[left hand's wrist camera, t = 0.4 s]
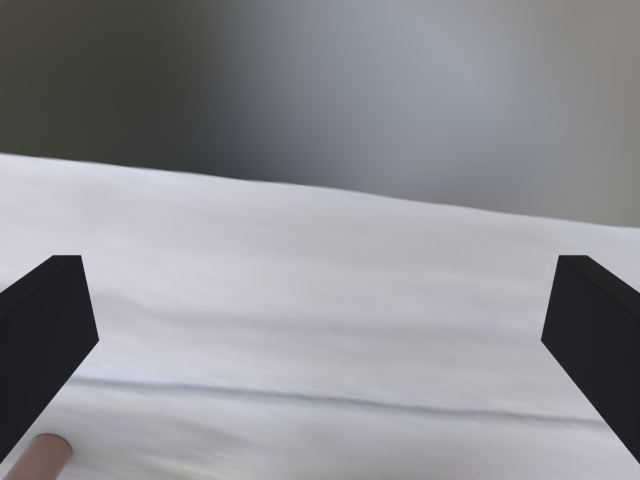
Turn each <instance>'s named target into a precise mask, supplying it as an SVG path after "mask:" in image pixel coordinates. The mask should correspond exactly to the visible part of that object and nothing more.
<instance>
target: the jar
mask: <svg viewBox="0 0 640 480" xmlns="http://www.w3.org/2000/svg"><path fill="white" fill-rule="evenodd" d="M71 456H72V450H71V447H70V445H69V444H68V443H67V442H66V441H65V440H64V439H62V438H60V437H58V436H55V435H51V434H43V435H39V436H37V437H35V438H34V439H33V440H32V441H31V443H30V444H29V445H28V446H27V448H26V449H25V450H24V452H23V453H22V454H21V456H20V457H19V458H18V459H17V461H16V462H15V463H14V465H13V466H12V467H11V469H10V470H9V471H8V473H7V474H6V475H5V476H4V478H3V479H2V480H57V479H58V477H59V476H60V474H61V473H62V471H63V469H64V468H65V466H66V465H67V463H68V462H69V460H70V458H71Z"/></svg>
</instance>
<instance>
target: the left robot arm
mask: <svg viewBox="0 0 640 480" xmlns="http://www.w3.org/2000/svg"><path fill="white" fill-rule="evenodd" d="M98 341H99V337H98V333H97V328H96V323H95V319H94V314H93V309H92V304H91V300H90V295H89V290H88V286H87V281H86V276H85V272H84V267H83V262H82V258H81V255H53V256H51V257H50V258H49V259H47V260H46V261H44V262H43V263H42V264H40V265H39V266H37V267H36V268H35V269H33V270H32V271H30V272H29V273H28V274H26V275H25V276H23V277H22V278H21V279H19V280H18V281H16V282H15V283H14V284H12V285H11V286H9V287H8V288H7V289H5V290H4V291H2V292H1V293H0V464H1V462H2V461H3V460H4V459H5V457H6V456H7V455H8V454H9V452H10V451H11V450H12V449H13V448H14V446H15V445H16V444H17V443H18V441H19V440H20V439H21V438H22V436H23V435H24V434H25V433H26V431H27V430H28V429H29V428H30V426H31V425H32V424H33V423H34V421H35V420H36V419H37V418H38V416H39V415H40V414H41V413H42V411H43V410H44V409H45V408H46V406H47V405H48V404H49V403H50V401H51V400H52V399H53V398H54V396H55V395H56V394H57V393H58V391H59V390H60V389H61V388H62V386H63V385H64V384H65V383H66V381H67V380H68V379H69V378H70V376H71V375H72V374H73V373H74V371H75V370H76V369H77V368H78V366H79V365H80V364H81V363H82V361H83V360H84V359H85V358H86V356H87V355H88V354H89V353H90V351H91V350H92V349H93V348H94V346H95V345H96V344H97V343H98ZM541 341H542V343H543V344H544V345H545V346H546V348H547V349H548V350H549V351H550V353H551V354H552V355H553V356H554V358H555V359H556V360H557V361H558V363H559V364H560V365H561V366H562V368H563V369H564V370H565V371H566V373H567V374H568V375H569V376H570V378H571V379H572V380H573V381H574V383H575V384H576V385H577V386H578V388H579V389H580V390H581V391H582V393H583V394H584V395H585V396H586V398H587V399H588V400H589V401H590V403H591V404H592V405H593V406H594V408H595V409H596V410H597V411H598V413H599V414H600V415H601V416H602V418H603V419H604V420H605V421H606V423H607V424H608V425H609V426H610V428H611V429H612V430H613V431H614V433H615V434H616V435H617V436H618V438H619V439H620V440H621V441H622V443H623V444H624V445H625V446H626V448H627V449H628V450H629V451H630V452H631V454H632V455H633V456H634V457H635V459H636V460H637V461H638V462H639V464H640V293H639V292H638V291H636V290H635V289H633V288H632V287H631V286H629V285H628V284H626V283H625V282H624V281H622V280H621V279H619V278H618V277H617V276H615V275H614V274H612V273H611V272H610V271H608V270H607V269H605V268H604V267H603V266H601V265H600V264H598V263H597V262H596V261H594V260H593V259H591V258H590V257H589V256H587V255H559V258H558V262H557V267H556V272H555V276H554V281H553V286H552V290H551V295H550V300H549V304H548V309H547V314H546V319H545V323H544V328H543V333H542V337H541Z"/></svg>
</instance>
